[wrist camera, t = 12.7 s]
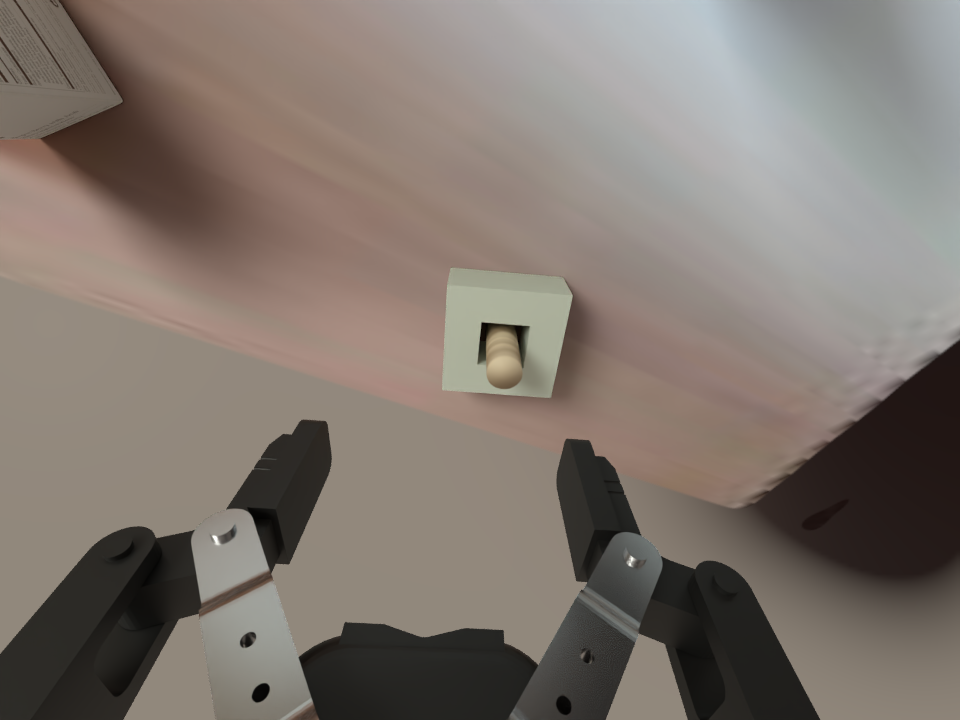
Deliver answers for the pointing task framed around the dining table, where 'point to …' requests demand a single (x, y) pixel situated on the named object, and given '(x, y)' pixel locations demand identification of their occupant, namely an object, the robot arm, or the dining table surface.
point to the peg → (502, 356)
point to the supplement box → (46, 71)
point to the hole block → (504, 302)
